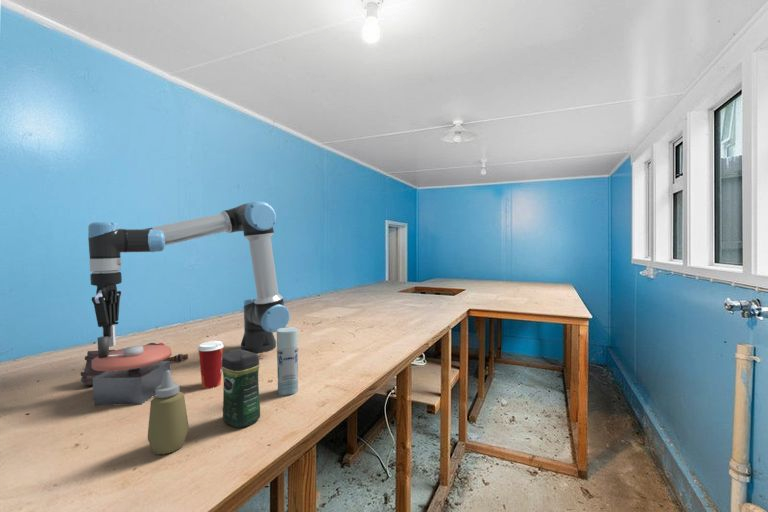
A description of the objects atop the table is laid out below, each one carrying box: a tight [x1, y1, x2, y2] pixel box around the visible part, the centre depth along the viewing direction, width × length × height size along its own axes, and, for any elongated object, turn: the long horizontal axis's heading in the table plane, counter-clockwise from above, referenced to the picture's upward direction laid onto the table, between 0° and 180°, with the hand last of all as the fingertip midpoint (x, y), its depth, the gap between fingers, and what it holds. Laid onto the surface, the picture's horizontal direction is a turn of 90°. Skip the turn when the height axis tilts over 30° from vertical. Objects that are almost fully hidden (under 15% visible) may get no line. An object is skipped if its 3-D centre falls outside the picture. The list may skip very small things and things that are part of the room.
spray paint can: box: [276, 326, 299, 397], centre depth 107 cm, size 6×6×20 cm
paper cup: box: [197, 340, 225, 389], centre depth 112 cm, size 8×8×14 cm
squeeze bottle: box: [147, 369, 190, 455], centre depth 77 cm, size 8×8×18 cm
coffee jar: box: [222, 348, 261, 428], centre depth 90 cm, size 10×8×19 cm
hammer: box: [79, 349, 189, 386], centre depth 124 cm, size 7×33×10 cm, turn 145°
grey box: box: [92, 361, 171, 406], centre depth 106 cm, size 14×14×8 cm
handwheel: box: [91, 335, 172, 372], centre depth 105 cm, size 20×20×10 cm
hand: (109, 345), depth 106 cm, fingers closed
